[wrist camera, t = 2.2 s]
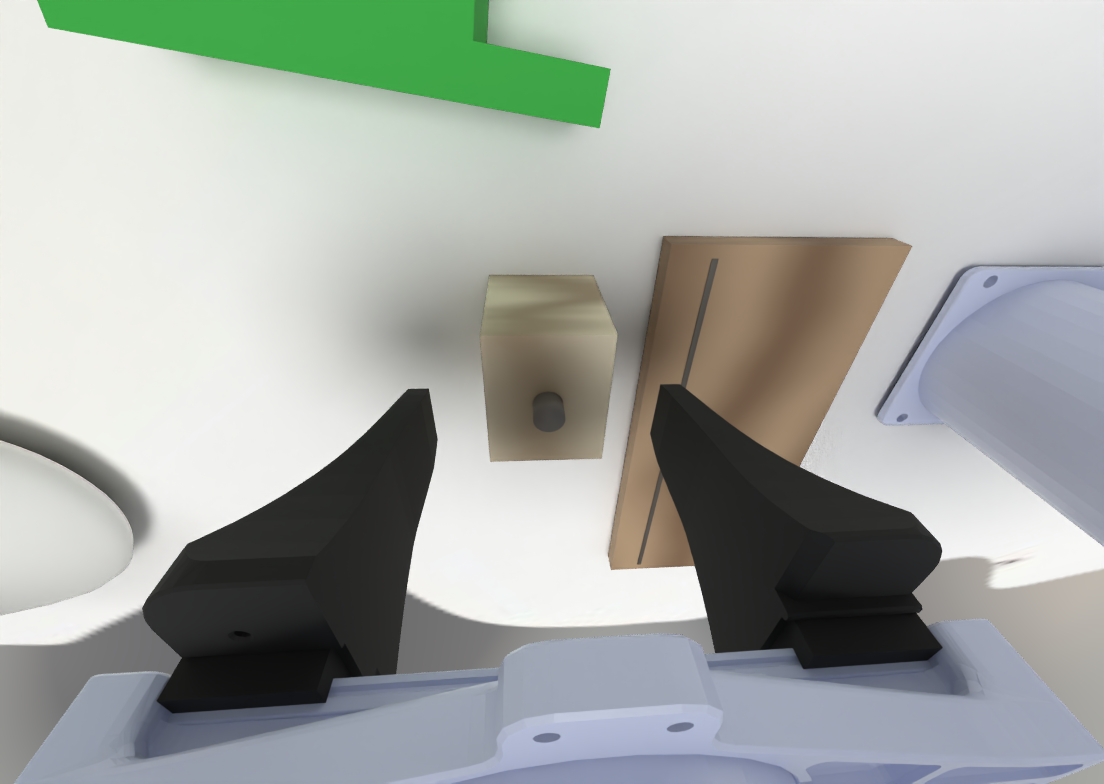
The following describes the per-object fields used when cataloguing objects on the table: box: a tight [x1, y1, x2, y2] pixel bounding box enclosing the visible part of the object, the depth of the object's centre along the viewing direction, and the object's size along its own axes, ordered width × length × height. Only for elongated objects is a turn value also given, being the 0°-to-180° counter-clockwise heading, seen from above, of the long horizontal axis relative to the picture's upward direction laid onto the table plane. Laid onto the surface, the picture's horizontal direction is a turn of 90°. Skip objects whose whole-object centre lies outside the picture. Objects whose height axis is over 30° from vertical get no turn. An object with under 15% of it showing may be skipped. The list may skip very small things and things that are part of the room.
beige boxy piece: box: [480, 275, 618, 462], centre depth 15 cm, size 4×5×6 cm
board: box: [608, 236, 912, 570], centre depth 21 cm, size 9×20×1 cm, turn 179°
